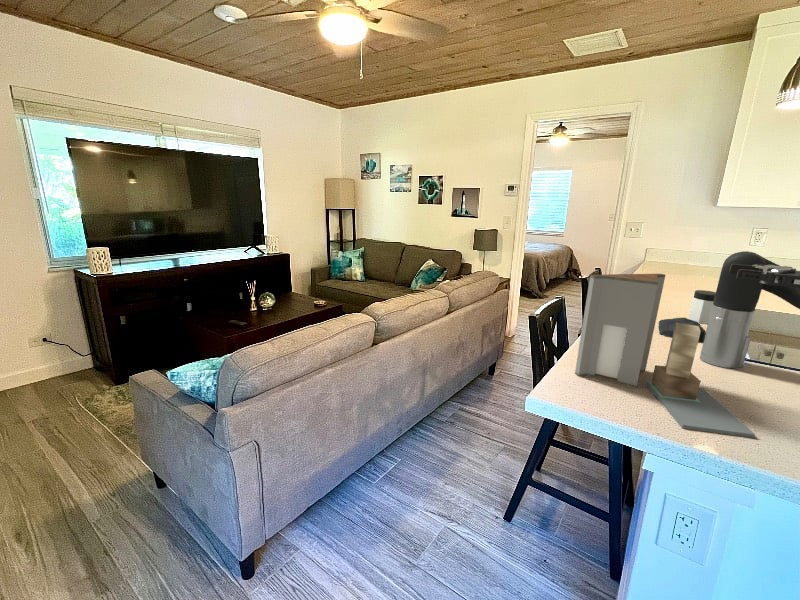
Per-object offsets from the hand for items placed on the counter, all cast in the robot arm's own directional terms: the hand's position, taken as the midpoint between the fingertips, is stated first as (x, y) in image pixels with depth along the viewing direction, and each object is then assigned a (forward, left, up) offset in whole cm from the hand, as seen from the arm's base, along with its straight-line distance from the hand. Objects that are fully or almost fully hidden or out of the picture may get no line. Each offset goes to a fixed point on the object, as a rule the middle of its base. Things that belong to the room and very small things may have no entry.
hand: (733, 271), depth 85 cm
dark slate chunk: (-18, -52, -32) cm, 64 cm away
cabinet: (+18, -3, -32) cm, 36 cm away
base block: (+8, +2, -31) cm, 32 cm away
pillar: (+8, +2, -26) cm, 27 cm away
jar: (-31, -69, -32) cm, 82 cm away
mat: (+6, +8, -31) cm, 33 cm away
